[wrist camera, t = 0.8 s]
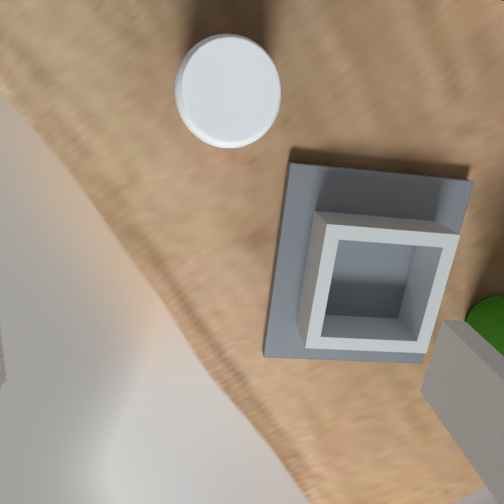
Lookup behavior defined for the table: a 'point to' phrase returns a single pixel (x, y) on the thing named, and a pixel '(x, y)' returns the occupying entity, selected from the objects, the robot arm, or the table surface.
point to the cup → (489, 321)
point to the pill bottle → (228, 90)
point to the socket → (361, 263)
